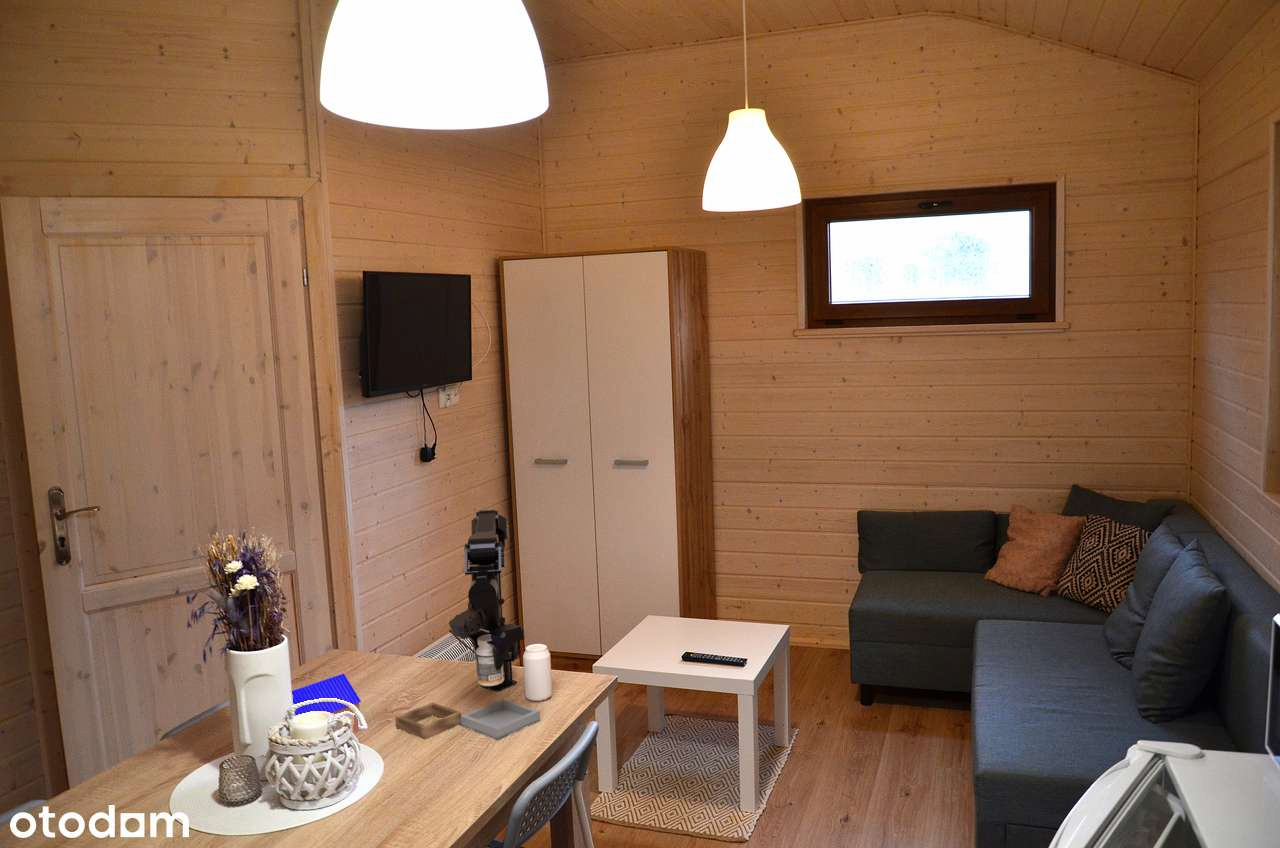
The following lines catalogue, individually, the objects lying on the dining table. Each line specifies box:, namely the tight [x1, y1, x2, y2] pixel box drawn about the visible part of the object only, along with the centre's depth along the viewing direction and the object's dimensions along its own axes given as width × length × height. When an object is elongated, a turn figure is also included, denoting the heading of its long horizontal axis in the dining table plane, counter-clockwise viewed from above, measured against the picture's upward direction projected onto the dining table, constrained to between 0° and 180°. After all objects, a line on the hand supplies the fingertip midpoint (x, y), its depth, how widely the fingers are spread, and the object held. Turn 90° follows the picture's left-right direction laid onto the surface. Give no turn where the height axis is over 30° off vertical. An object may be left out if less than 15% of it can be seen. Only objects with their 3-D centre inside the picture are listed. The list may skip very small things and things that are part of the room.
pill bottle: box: [475, 634, 504, 687], centre depth 213 cm, size 6×6×10 cm
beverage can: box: [522, 643, 553, 702], centre depth 228 cm, size 6×6×12 cm
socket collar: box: [394, 702, 463, 741], centre depth 215 cm, size 10×10×2 cm
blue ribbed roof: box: [291, 673, 362, 734], centre depth 210 cm, size 12×20×12 cm, turn 140°
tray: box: [460, 698, 541, 741], centre depth 214 cm, size 12×12×2 cm
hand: (490, 666), depth 213 cm, fingers closed on pill bottle, 6 cm apart
